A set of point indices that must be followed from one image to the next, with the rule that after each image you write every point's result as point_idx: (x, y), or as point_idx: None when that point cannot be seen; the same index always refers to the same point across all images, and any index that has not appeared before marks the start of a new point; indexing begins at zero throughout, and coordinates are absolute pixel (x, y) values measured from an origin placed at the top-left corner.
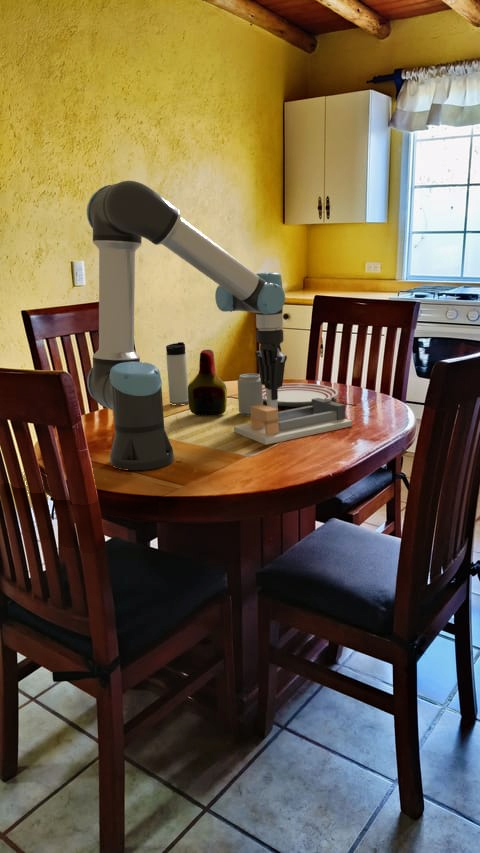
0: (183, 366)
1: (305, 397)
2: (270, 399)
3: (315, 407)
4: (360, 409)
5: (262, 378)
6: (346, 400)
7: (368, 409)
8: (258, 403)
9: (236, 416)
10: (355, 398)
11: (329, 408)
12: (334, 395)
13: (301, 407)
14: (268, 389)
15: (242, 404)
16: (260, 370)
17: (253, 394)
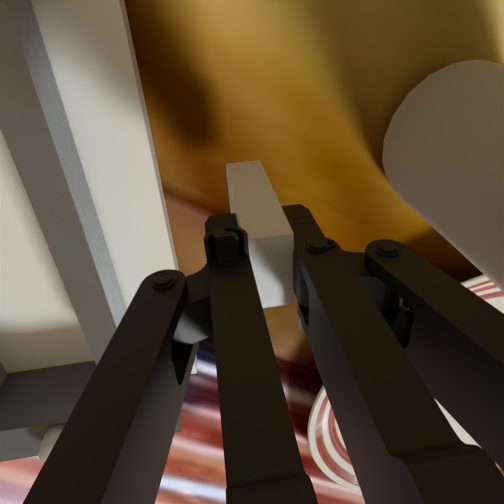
0: None
1: (445, 411)
2: (235, 205)
3: None
4: (189, 476)
5: (400, 279)
6: (323, 479)
7: (175, 489)
8: (408, 176)
9: (462, 18)
10: (325, 500)
11: (20, 407)
12: (338, 477)
13: (109, 319)
14: (225, 226)
15: (484, 74)
16: (494, 337)
17: (456, 166)
